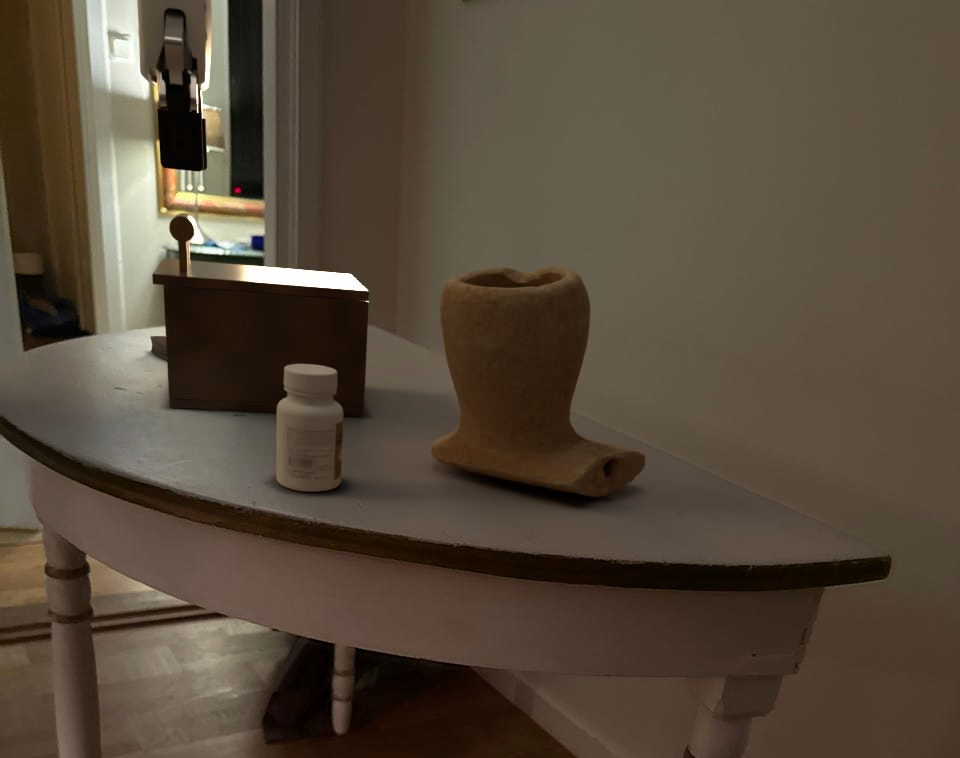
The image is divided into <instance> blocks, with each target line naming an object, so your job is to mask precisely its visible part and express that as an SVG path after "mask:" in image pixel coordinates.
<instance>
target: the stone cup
mask: <svg viewBox="0 0 960 758" xmlns="http://www.w3.org/2000/svg"><path fill="white" fill-rule="evenodd" d="M439 319H440V321H439V322H440V328H441V335H442V342H443V348H444V354H445V358H446V363H447V367H448V370H449V374H450V377H451V380H452V383H453V384H452V385H453V387H454V391H455V395H456V397H457V401H458V402H457V403H458V406H459V412H460V414H459V420H458V425H457V427H456V428H455V430H454V431H452V432H450V433H448V434H446V435H444V436H442V437H440V438H439V439H437V440H436V441H435V442H433V444H432V445H431V447H430V454H431V456H432V458H434V459H435V460H436V461H437V462H439V463H442V464H445V465H448V466H451V467H454V468H457V469H460V470H464V471H467V472H471V473H475V474H481V475H485V476H489V477H493V478H497V479H502V480H505V481H506V480H507V481H511V482H515V483H521V484H526V485H531V486H535V487H541V488H545V489H550V490H555V491H560V492H565V493H571V494H575V495H576V494H577V495H580V496H584V497H585V496H586V497H594V498H599V497H604V496H607V495H609V494H612V493H614V492H616V491H618V490H620V489H622V488H624V487H625V486H626V485H627V484H629V483H631V482H633V481H634V479H635V478H636V477H637V476H638V475H640V474H641V473H642V472H643V471H644V469H645V466H646V455H645V454H643V453H641V452H640V451H637V450H633V449H628V448H624V447H619V446H615V445H611V444H609V443H608V444H607V443H604V442H600V441H596V440H591V439H589V438H586V437H584V436H582V435H581V434H579V433H577V432H576V429H574V427H573V426H572V423H571V419H570V417H571V408H572V402H573V398H574V394H575V391H576V387H577V384H578V380H579V377H580V374H581V372H582V366H583V363H584V359H585V355H586V351H587V347H588V341H589V333H590V324H591V322H590V321H591V302H590V297H589V292H588V290H587V288H586V286H585V283H584V281H583V279H582V277H581V276H580V275H579V274H578V273H577V272H575V271H573V270H572V269H568V268H562V267H558V266H544V267H541V268H539V269H538V270H534V271H531V272H527V273H526V272H523V271H519V270H516V269H513V268H508V267H493V268H492V267H491V268H484V269H479V270H473V271H469V272H466V273H464V274H461V275H456V276H453V277H452V278H450V279H449V280H448V282H446V284H445V285H444V287H443V290H442V292H441V297H440V303H439Z"/></svg>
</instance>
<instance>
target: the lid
mask: <svg viewBox="0 0 960 758" xmlns="http://www.w3.org/2000/svg"><path fill="white" fill-rule="evenodd" d="M168 229H169V230H168V231H169V233H170V235H171V237H172V238H173V239H174V240H176V241H177V249H178V259H177V258H163V259H162V260H161V261H160V263H159V264H158V266H157V267H156V268H155V270H154V271H153V272H152V274H151V276H152V278H151V280H152V285H157V286H158V285H159V286H164V285H169V286H182V287H195V288H208V289H221V290H233V291H246V292H259V293H272V294H285V295H298V296H310V297H323V298H336V299H349V300H362V301H368V302H369V300H370V291H369V290H368V289H367V288H366V287H365V286H364V285H362V283H361V282H359V280H357V278H356V277H354V275H353V274H351V273H342V272H329V271H318V270H307V269H306V270H305V269H295V268H283V267H272V266H271V267H270V266H260V265H249V264H248V265H247V264H235V263H224V262H212V261H201V260H191V252H190V250H191V249H190V242H191V240H192V239H193V238H194V236H195V234H196V232H197V222H196V220H195V218H194V217H193V216H191V215H190V214H189V213H186V212H180V213H178V214H176V215H175V216H174V217H173V218H171V220H170V222H169V225H168Z"/></svg>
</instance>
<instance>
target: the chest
mask: <svg viewBox="0 0 960 758" xmlns="http://www.w3.org/2000/svg"><path fill="white" fill-rule="evenodd" d="M162 286H163V287H162V288H163V308H164V327H165V337H166V348H167V360H166V364H167V384H168V385H167V386H168V401H169V402H168V403H169V404H168V405H169V408H170V409H190V410H209V411H210V410H212V411H234V412H235V411H236V412H253V413H254V412H255V413H275V414H277V405H278V403H279V402H280V401H281V400H282V399H284V398H286V397H287V391H285V390H284V387H285V386H284V384H283V383H284V368H285V366H287V365H292V364H313V365H321V366H326V367H330V368H333V369H335V370H336V371H337V389H336V391H337V393H336V394H334V395H333V400H334V401H336V402H337V403H339V404H340V405H341V407H342V409H343V417H345V416H346V417H364V415H365V396H366V395H365V394H366V377H367V376H366V375H367V374H366V373H367V351H368V349H367V348H368V329H369V328H368V327H369V326H368V325H369V306H370V301H369V300H368V301H362V300H349V299H336V298H323V297H310V296H298V295H285V294H272V293H259V292H246V291H233V290H221V289H208V288H195V287H182V286H169V285H162Z"/></svg>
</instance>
